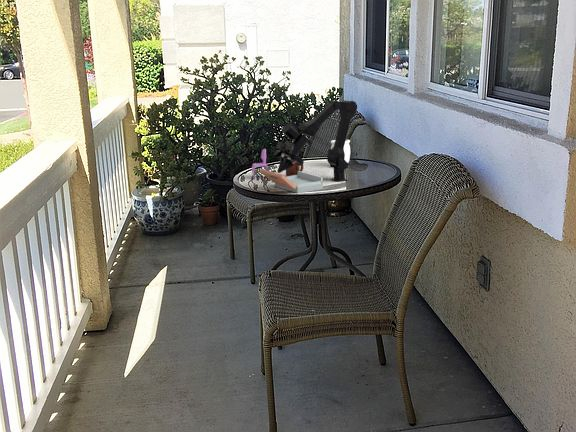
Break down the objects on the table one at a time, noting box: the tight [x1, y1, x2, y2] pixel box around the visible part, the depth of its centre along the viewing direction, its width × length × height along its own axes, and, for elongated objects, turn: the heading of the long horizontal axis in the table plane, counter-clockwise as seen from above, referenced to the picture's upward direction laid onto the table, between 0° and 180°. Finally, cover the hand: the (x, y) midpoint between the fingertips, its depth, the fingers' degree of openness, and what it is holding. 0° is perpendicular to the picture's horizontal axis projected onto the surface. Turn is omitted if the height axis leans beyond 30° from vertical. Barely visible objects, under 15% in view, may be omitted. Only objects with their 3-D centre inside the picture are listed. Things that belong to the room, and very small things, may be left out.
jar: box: [330, 139, 351, 168], centre depth 324 cm, size 11×10×15 cm
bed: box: [274, 171, 324, 194], centre depth 281 cm, size 14×21×6 cm
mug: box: [285, 162, 304, 177], centre depth 300 cm, size 12×9×10 cm
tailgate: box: [259, 168, 296, 189], centre depth 275 cm, size 2×20×10 cm
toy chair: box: [251, 148, 270, 180], centre depth 307 cm, size 8×9×15 cm
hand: (278, 172), depth 275 cm, fingers closed
